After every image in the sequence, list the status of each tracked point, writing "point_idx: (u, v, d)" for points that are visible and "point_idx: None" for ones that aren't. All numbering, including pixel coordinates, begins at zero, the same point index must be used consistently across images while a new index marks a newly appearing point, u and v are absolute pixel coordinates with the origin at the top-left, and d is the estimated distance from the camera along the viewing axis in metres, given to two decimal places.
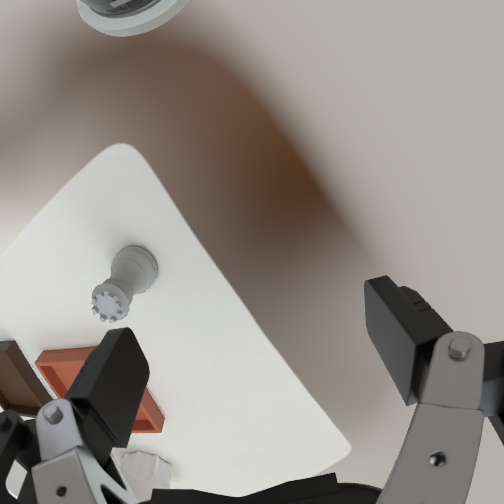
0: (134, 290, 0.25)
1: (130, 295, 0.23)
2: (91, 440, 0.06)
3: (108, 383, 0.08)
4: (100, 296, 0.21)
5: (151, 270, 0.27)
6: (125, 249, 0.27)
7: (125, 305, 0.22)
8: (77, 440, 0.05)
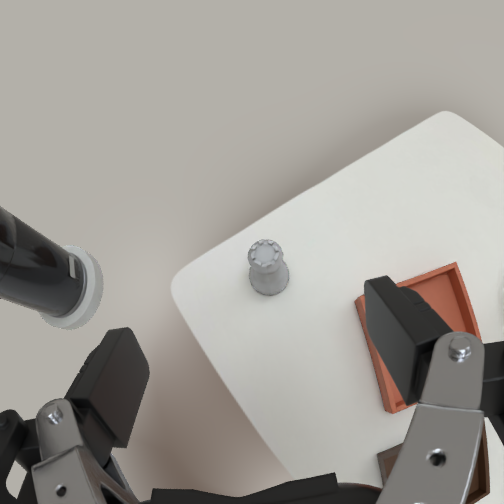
0: None
1: None
2: (91, 440, 0.06)
3: (108, 383, 0.08)
4: (253, 255, 0.28)
5: None
6: None
7: (265, 240, 0.29)
8: (77, 440, 0.05)
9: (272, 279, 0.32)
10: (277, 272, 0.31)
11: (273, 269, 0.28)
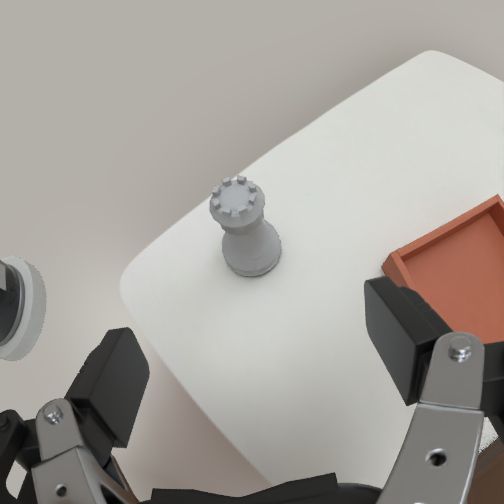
0: None
1: None
2: (91, 440, 0.06)
3: (108, 383, 0.08)
4: (215, 200, 0.17)
5: None
6: None
7: None
8: (77, 440, 0.05)
9: (256, 247, 0.21)
10: (261, 233, 0.20)
11: (251, 219, 0.17)
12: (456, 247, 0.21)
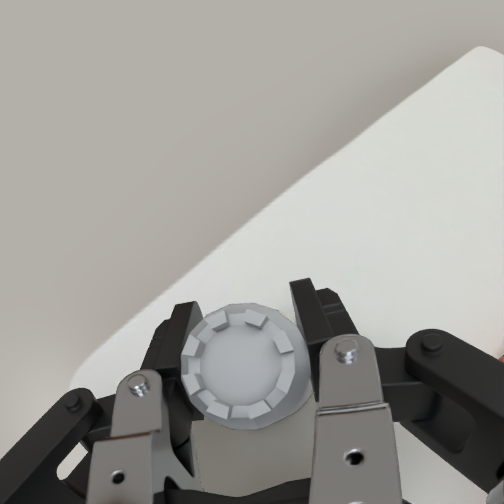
0: None
1: None
2: (178, 411, 0.07)
3: None
4: (191, 378, 0.06)
5: None
6: None
7: (234, 309, 0.08)
8: (156, 422, 0.05)
9: None
10: None
11: (280, 416, 0.07)
12: None
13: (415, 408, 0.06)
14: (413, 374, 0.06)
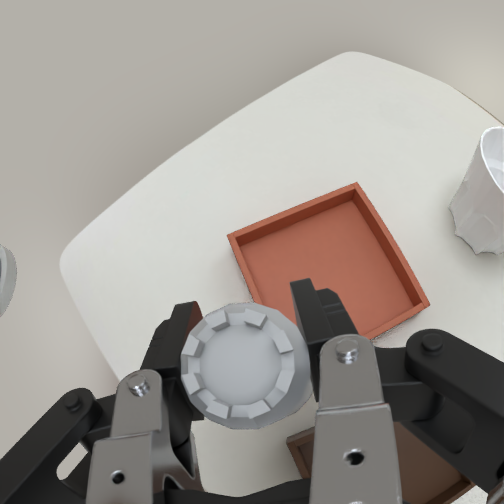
0: None
1: None
2: (177, 411, 0.07)
3: None
4: (191, 378, 0.06)
5: None
6: None
7: (233, 308, 0.08)
8: (156, 422, 0.05)
9: None
10: None
11: (279, 416, 0.07)
12: (305, 231, 0.29)
13: (415, 408, 0.06)
14: (413, 374, 0.06)
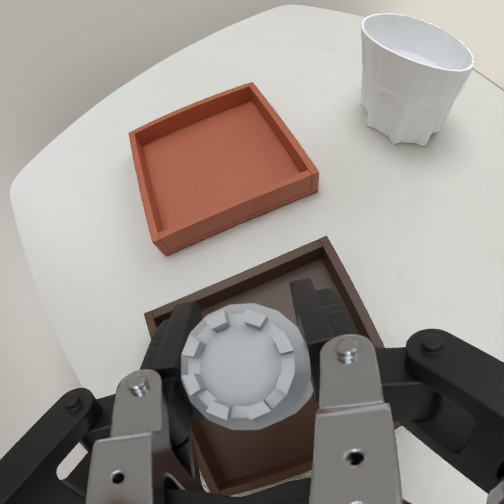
0: None
1: None
2: (177, 411, 0.07)
3: None
4: (191, 379, 0.06)
5: None
6: None
7: (234, 309, 0.08)
8: (156, 422, 0.05)
9: None
10: None
11: (280, 416, 0.07)
12: (201, 127, 0.29)
13: (415, 408, 0.06)
14: (413, 374, 0.06)
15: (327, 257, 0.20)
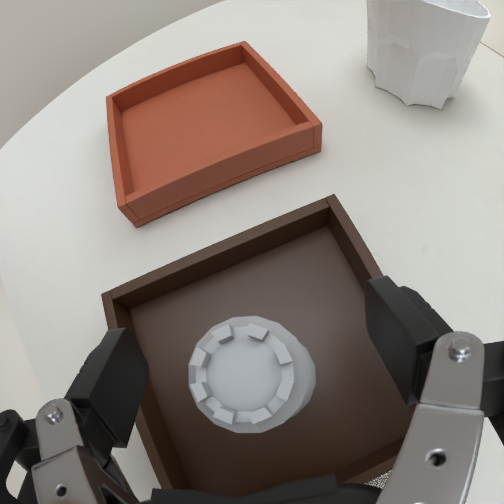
0: None
1: None
2: (91, 440, 0.06)
3: (108, 383, 0.08)
4: (199, 387, 0.07)
5: None
6: None
7: (238, 322, 0.08)
8: (77, 440, 0.05)
9: None
10: None
11: (280, 421, 0.07)
12: (187, 89, 0.24)
13: None
14: None
15: (336, 220, 0.15)
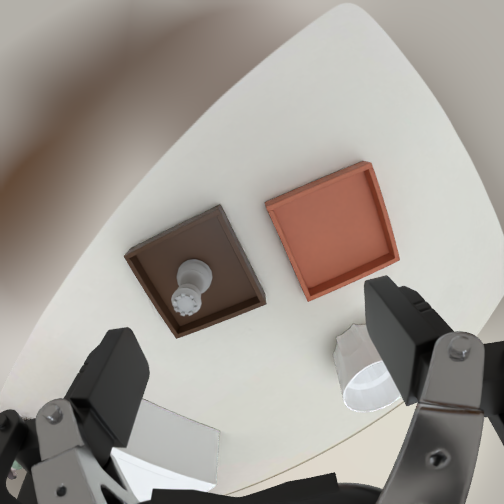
0: (200, 290, 0.35)
1: (199, 293, 0.34)
2: (91, 440, 0.06)
3: (108, 383, 0.08)
4: (180, 297, 0.31)
5: (208, 274, 0.38)
6: (185, 262, 0.38)
7: (198, 300, 0.32)
8: (77, 440, 0.05)
9: None
10: None
11: None
12: (370, 216, 0.37)
13: None
14: None
15: (254, 303, 0.39)
